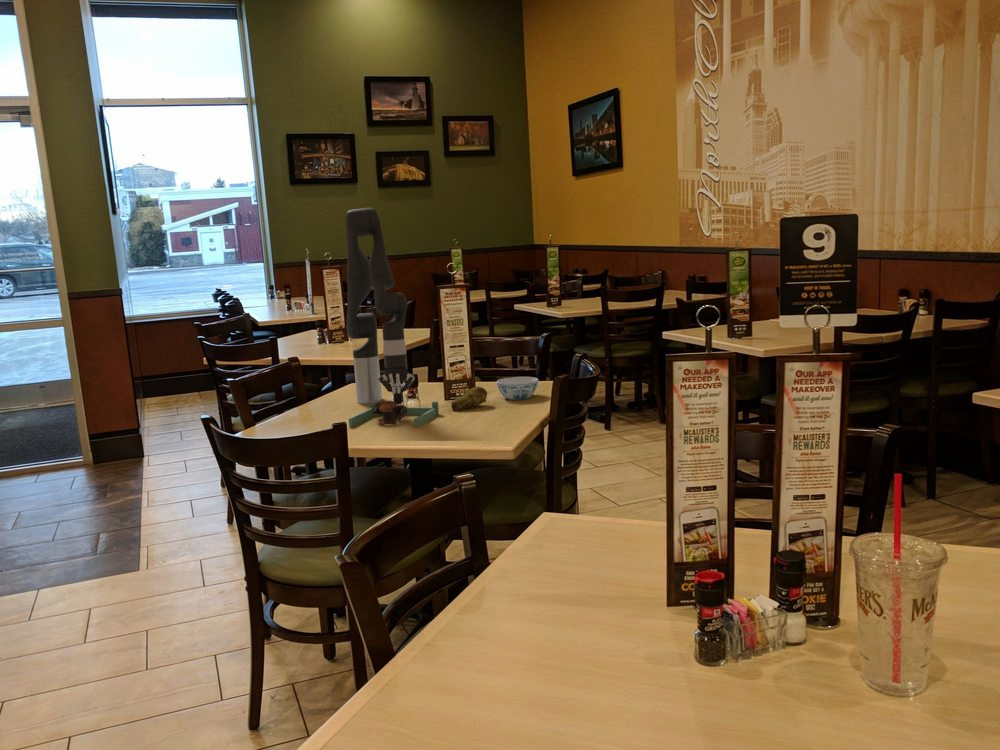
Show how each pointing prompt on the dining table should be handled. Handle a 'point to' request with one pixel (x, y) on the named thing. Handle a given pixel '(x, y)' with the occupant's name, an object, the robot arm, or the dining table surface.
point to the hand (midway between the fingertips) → (398, 404)
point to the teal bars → (423, 412)
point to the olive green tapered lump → (470, 399)
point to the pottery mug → (389, 412)
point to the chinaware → (517, 387)
